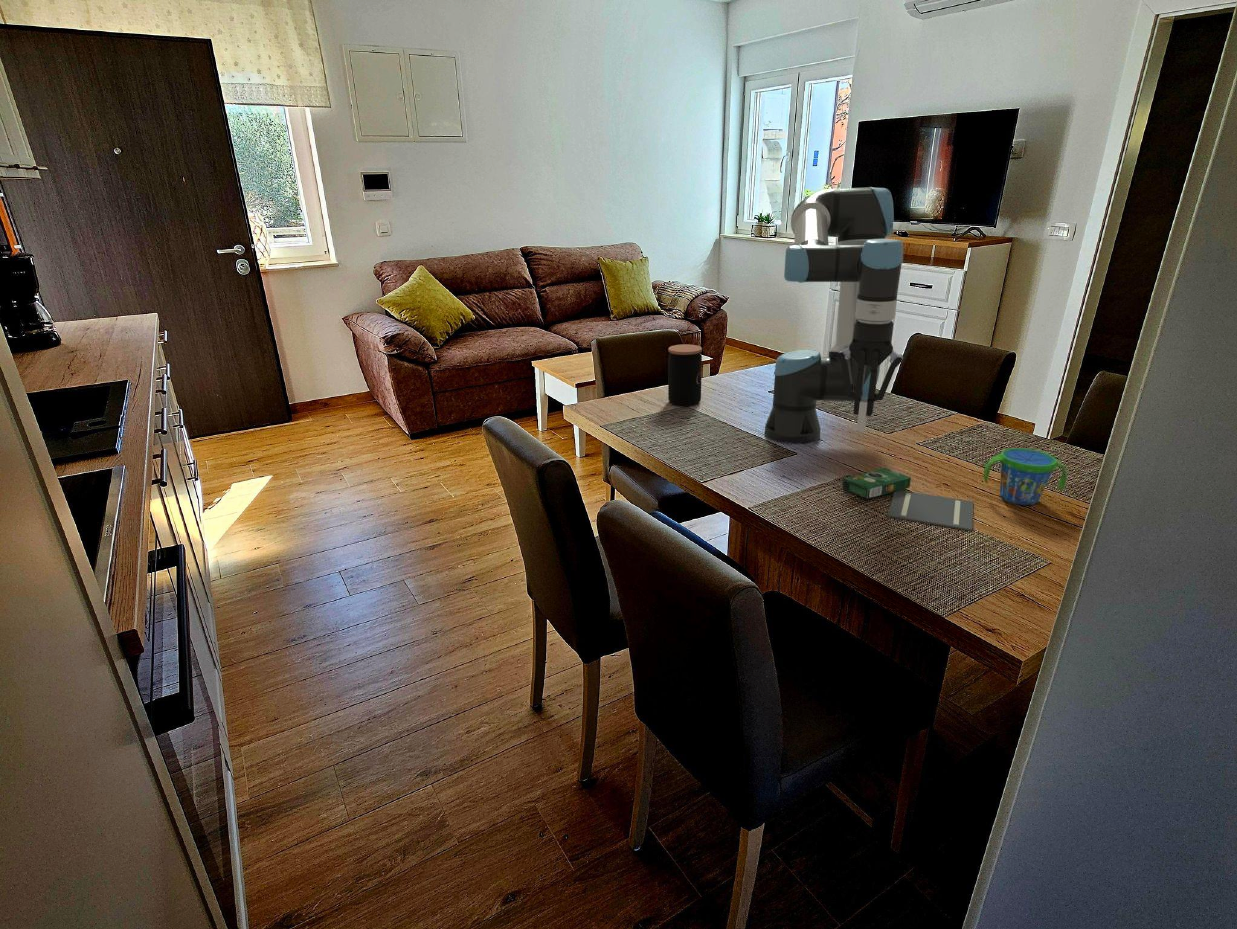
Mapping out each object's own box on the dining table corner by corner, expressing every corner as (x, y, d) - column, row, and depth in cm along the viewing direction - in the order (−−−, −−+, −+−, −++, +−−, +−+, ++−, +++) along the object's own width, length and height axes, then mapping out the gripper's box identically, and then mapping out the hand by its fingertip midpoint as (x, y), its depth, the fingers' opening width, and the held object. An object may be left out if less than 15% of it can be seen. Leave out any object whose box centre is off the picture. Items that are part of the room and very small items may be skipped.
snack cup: (1055, 494, 149) (1066, 451, 146) (1065, 514, 140) (1076, 469, 137) (977, 485, 155) (985, 444, 151) (981, 504, 146) (990, 461, 142)
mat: (887, 516, 142) (887, 514, 142) (894, 490, 153) (895, 489, 153) (971, 531, 135) (972, 529, 135) (973, 503, 147) (973, 501, 146)
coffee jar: (702, 407, 214) (703, 351, 207) (669, 407, 215) (669, 352, 208) (699, 397, 224) (700, 343, 217) (667, 398, 224) (667, 344, 218)
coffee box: (868, 500, 148) (911, 488, 153) (869, 488, 147) (912, 476, 153) (841, 489, 155) (883, 478, 160) (842, 478, 154) (884, 466, 159)
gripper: (837, 321, 135) (826, 430, 145) (907, 326, 130) (891, 439, 140) (844, 314, 141) (833, 419, 151) (910, 318, 136) (895, 427, 146)
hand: (861, 428), depth 145 cm, fingers closed
